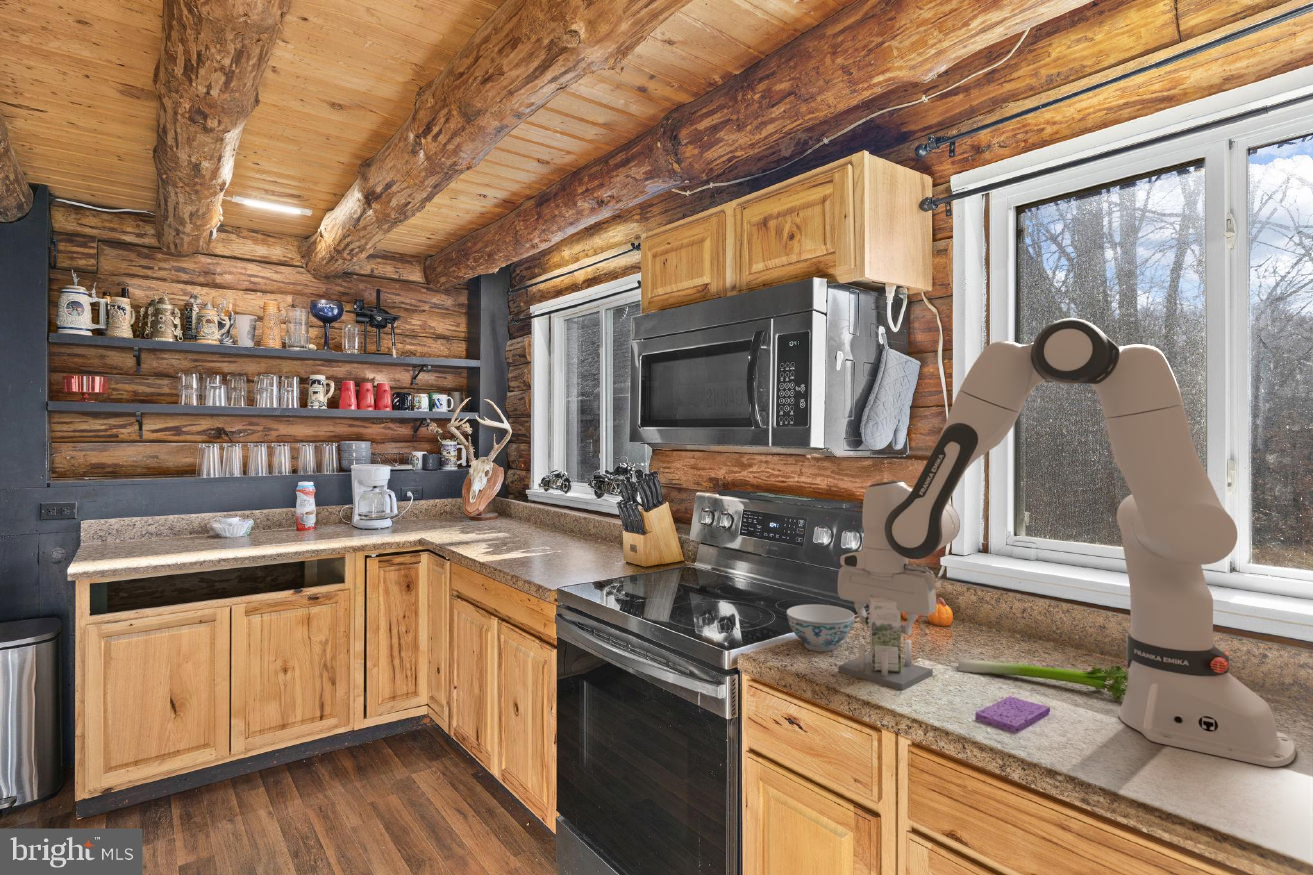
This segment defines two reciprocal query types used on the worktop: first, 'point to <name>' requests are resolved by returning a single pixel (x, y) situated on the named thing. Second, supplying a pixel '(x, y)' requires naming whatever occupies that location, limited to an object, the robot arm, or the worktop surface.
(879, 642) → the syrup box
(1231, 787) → the worktop surface
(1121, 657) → the worktop surface
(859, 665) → the pin tray
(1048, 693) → the worktop surface
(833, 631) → the chinaware
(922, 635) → the worktop surface
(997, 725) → the sponges
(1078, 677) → the leek
